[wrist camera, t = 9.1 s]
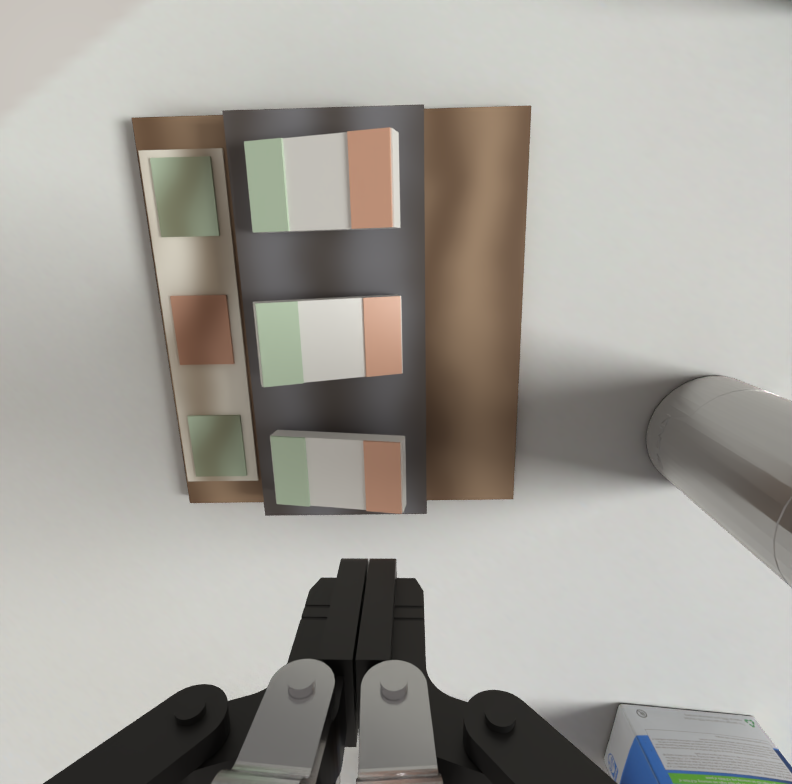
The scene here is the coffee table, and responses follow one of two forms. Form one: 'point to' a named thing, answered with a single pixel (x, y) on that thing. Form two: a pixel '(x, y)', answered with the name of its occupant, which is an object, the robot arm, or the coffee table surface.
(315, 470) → the switch
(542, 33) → the coffee table surface
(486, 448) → the switch unit
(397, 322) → the switch
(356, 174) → the switch
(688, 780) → the string lights box
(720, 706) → the coffee table surface
